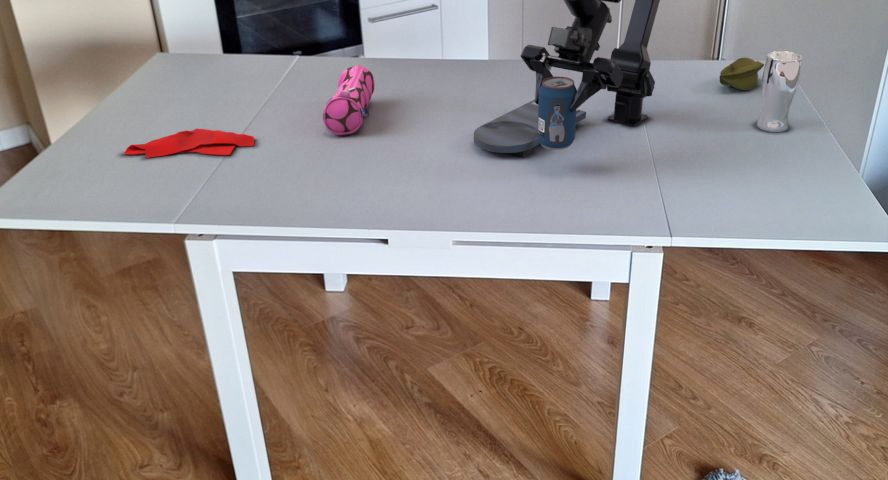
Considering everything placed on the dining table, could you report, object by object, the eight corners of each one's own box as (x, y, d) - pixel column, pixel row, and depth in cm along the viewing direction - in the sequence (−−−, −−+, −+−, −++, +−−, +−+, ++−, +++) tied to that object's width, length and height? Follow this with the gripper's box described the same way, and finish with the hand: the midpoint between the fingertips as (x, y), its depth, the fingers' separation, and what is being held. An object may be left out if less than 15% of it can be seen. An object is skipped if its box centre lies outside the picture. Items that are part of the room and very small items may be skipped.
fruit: (771, 94, 204) (776, 65, 200) (718, 95, 204) (722, 67, 200) (756, 77, 213) (761, 50, 210) (705, 78, 214) (709, 51, 210)
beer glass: (749, 121, 190) (760, 51, 182) (781, 119, 190) (794, 49, 183) (762, 133, 184) (774, 62, 176) (795, 132, 185) (809, 60, 177)
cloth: (261, 130, 193) (260, 120, 192) (248, 156, 181) (247, 146, 180) (141, 132, 194) (139, 122, 193) (120, 158, 182) (118, 148, 181)
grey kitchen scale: (534, 111, 198) (535, 97, 196) (585, 125, 191) (586, 110, 189) (460, 149, 181) (460, 134, 180) (513, 165, 174) (513, 149, 172)
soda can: (561, 133, 172) (564, 72, 166) (581, 146, 167) (585, 83, 161) (530, 140, 170) (531, 79, 164) (550, 154, 164) (552, 91, 158)
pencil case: (370, 137, 188) (367, 91, 183) (324, 138, 188) (319, 92, 183) (379, 101, 206) (376, 58, 201) (337, 102, 207) (333, 59, 201)
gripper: (526, 0, 163) (493, 77, 162) (620, 14, 154) (586, 96, 152) (547, 32, 173) (516, 105, 171) (637, 47, 163) (604, 125, 161)
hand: (553, 107), depth 163 cm, fingers closed on soda can, 7 cm apart
